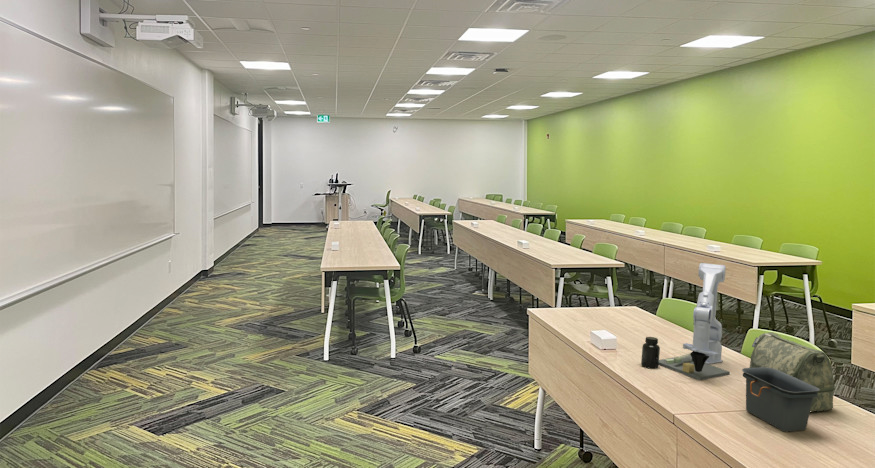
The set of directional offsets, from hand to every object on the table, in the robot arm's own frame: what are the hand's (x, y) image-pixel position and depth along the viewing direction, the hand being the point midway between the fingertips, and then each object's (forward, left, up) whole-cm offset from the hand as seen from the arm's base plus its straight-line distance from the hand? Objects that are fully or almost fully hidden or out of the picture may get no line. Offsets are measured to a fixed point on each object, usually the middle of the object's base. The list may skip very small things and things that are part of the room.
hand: (698, 371), depth 223 cm
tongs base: (-8, -9, -3) cm, 12 cm away
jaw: (-7, -12, 0) cm, 14 cm away
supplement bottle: (+7, -18, -3) cm, 19 cm away
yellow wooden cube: (0, -5, -2) cm, 5 cm away
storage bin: (+13, +38, -3) cm, 40 cm away
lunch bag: (-11, +28, -3) cm, 30 cm away
